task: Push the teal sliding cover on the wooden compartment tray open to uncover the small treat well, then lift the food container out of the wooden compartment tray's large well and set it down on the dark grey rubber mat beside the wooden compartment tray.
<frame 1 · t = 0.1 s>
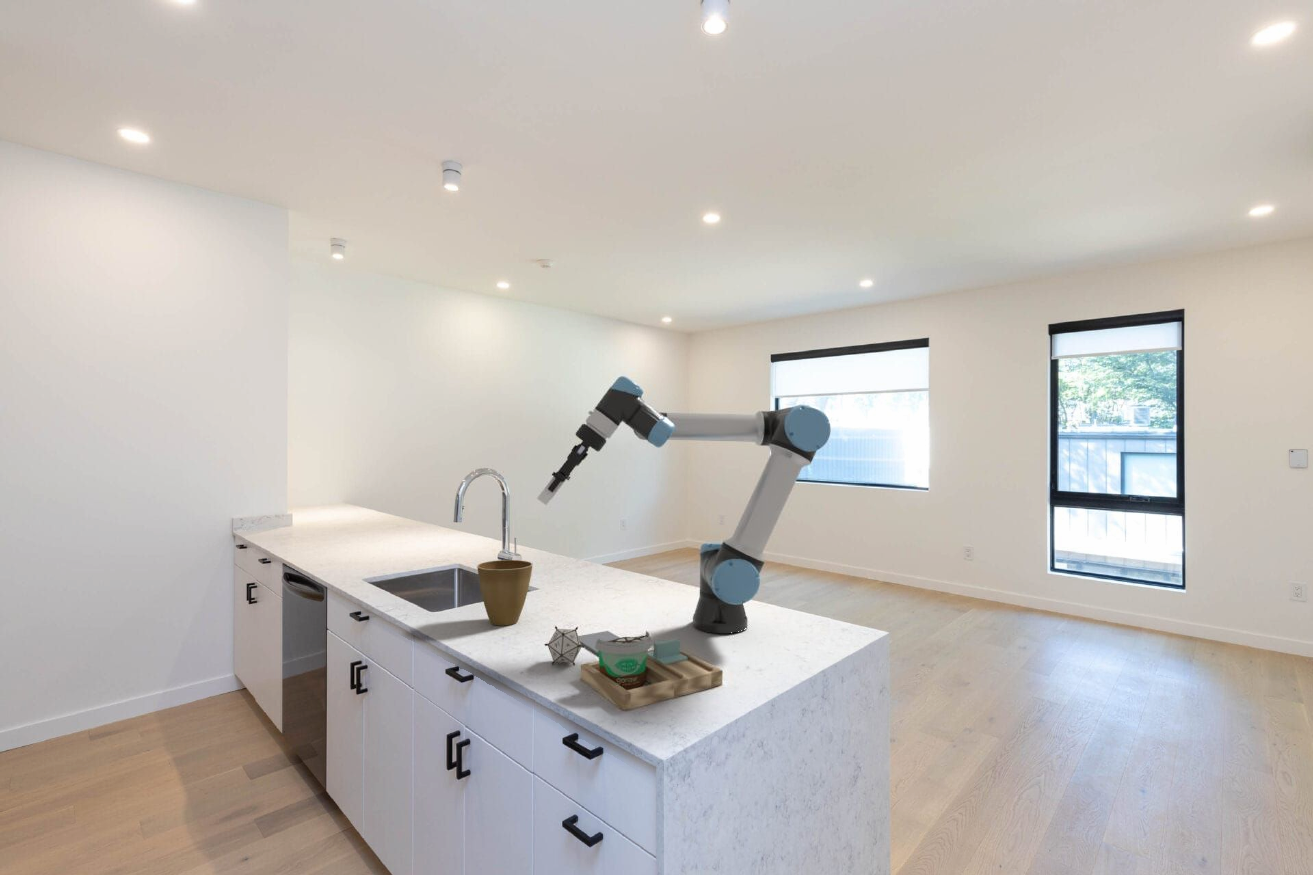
hand: (544, 499, 150), 36 cm above the counter, tool tilted 35°, fingers open, 13 cm apart
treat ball: (666, 671, 133), resting in wooden compartment tray
food container: (627, 688, 124), resting in wooden compartment tray
game die: (564, 664, 137), on the counter
mat: (605, 644, 149), on the counter
wooden compartment tray: (650, 681, 127), on the counter
cover: (666, 649, 133), point 5 cm above the counter, slide at 0.0 cm
plant pot: (503, 622, 167), on the counter
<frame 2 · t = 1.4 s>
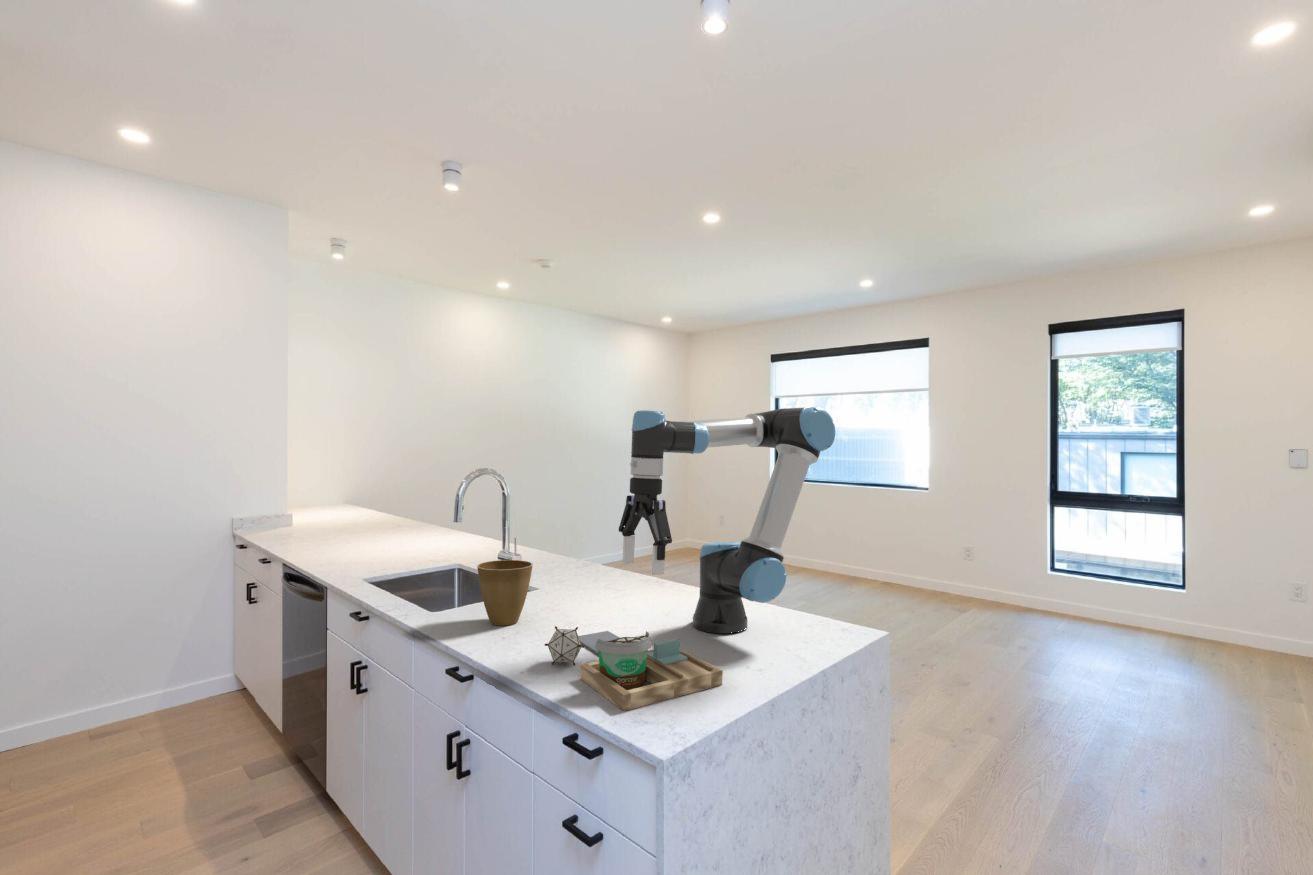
hand: (642, 568, 140), 21 cm above the counter, tool pointing down, fingers open, 13 cm apart
nothing on the counter moved.
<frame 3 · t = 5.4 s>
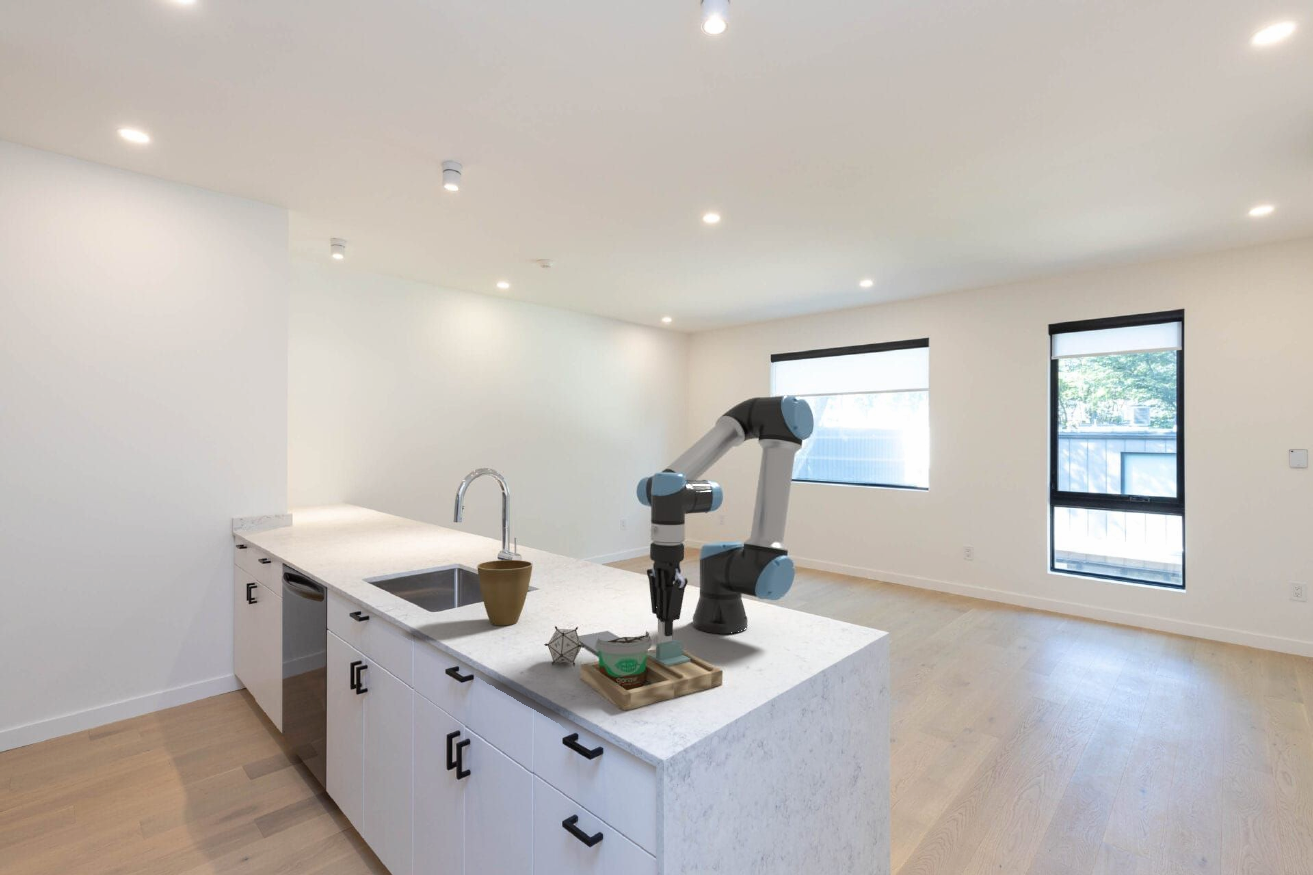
hand: (664, 649, 133), 5 cm above the counter, tool pointing down, fingers closed
cover: (669, 650, 132), point 5 cm above the counter, slide at 1.0 cm, touching gripper
everything else where it was.
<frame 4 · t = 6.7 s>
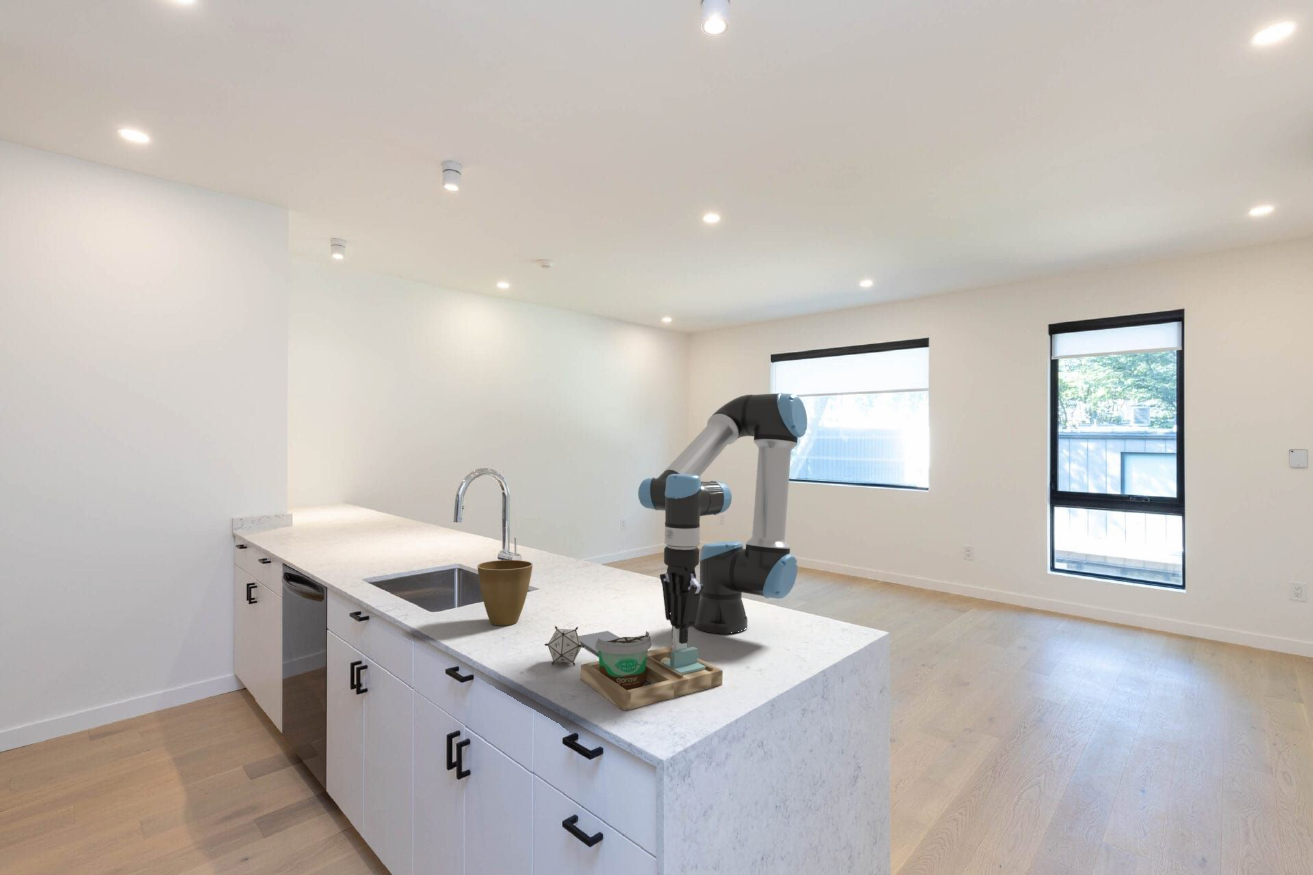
hand: (679, 656, 129), 5 cm above the counter, tool pointing down, fingers closed
cover: (683, 658, 128), point 5 cm above the counter, slide at 6.4 cm, touching gripper
everything else where it was.
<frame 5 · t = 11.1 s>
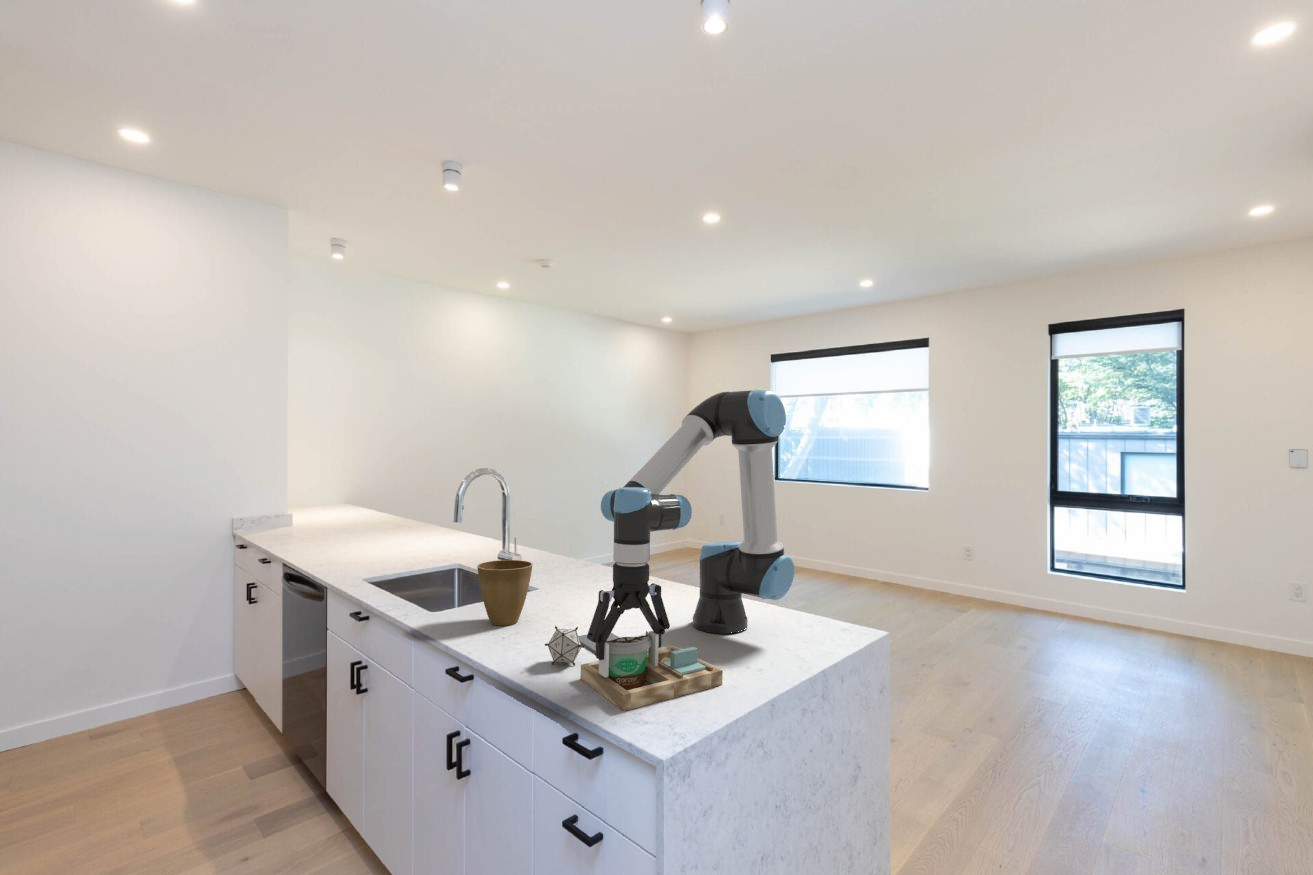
hand: (628, 669, 124), 4 cm above the counter, tool pointing down, fingers closed on food container, 11 cm apart
food container: (627, 688, 124), resting in wooden compartment tray, touching gripper
cover: (684, 658, 128), point 5 cm above the counter, slide at 6.4 cm
everything else where it was.
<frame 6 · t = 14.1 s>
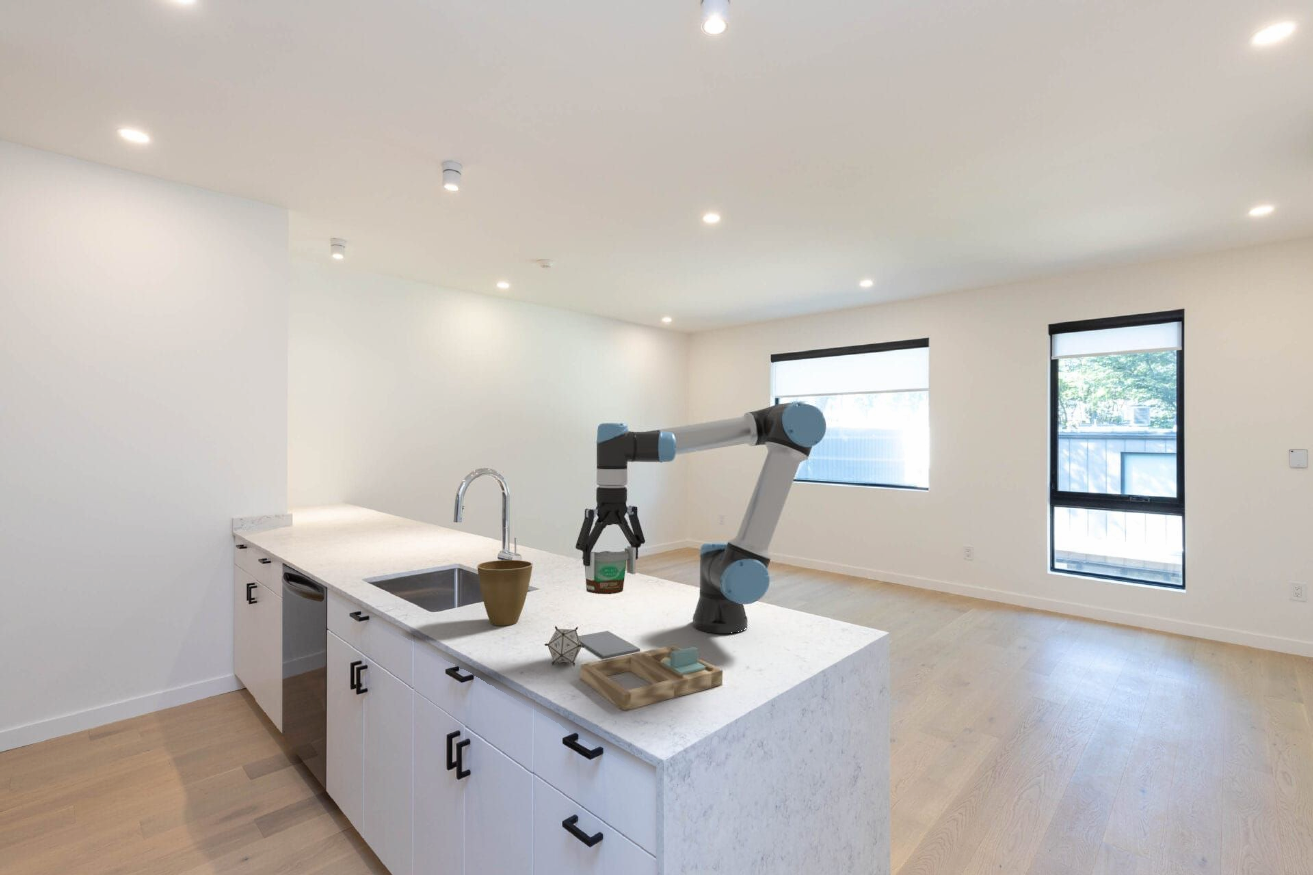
hand: (611, 576, 147), 18 cm above the counter, tool pointing down, fingers closed on food container, 11 cm apart
food container: (609, 592, 146), point 14 cm above the counter, touching gripper
everything else where it was.
when the fingers open (5 cm above the counter, at t = 17.4 s): food container stays where it is, resting on mat.
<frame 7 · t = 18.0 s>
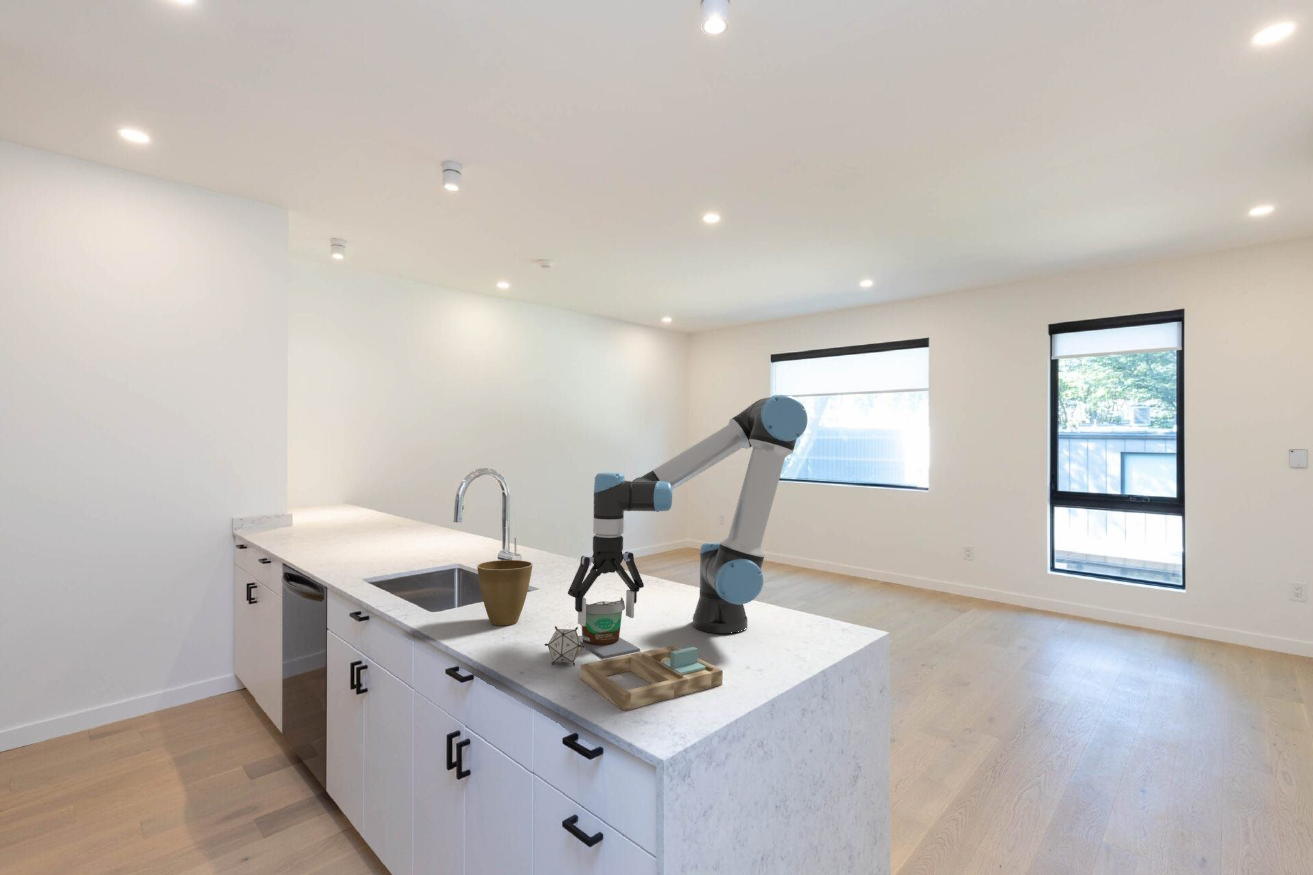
hand: (606, 620, 150), 6 cm above the counter, tool pointing down, fingers open, 13 cm apart
food container: (604, 643, 149), resting on mat
everything else where it was.
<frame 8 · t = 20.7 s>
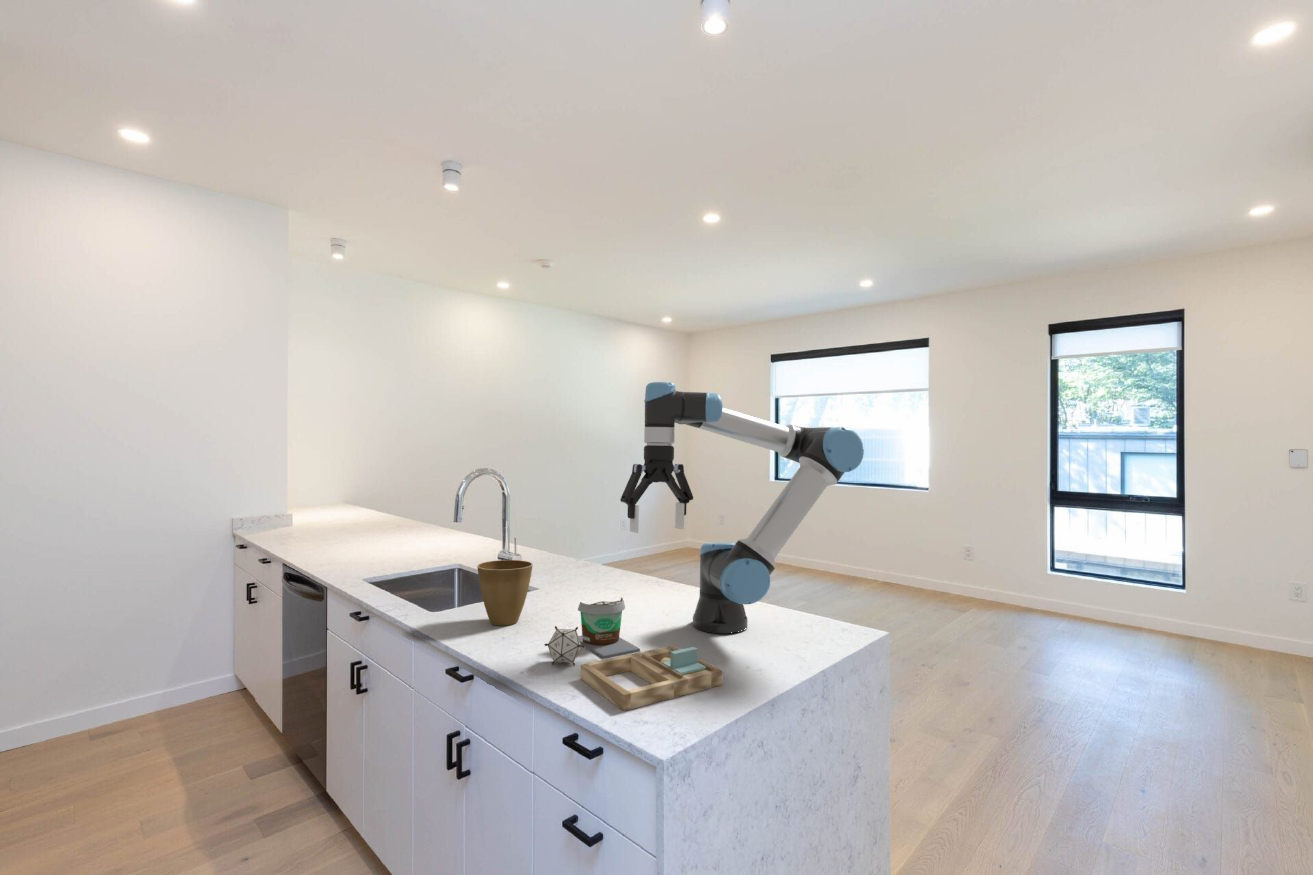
hand: (657, 530, 149), 29 cm above the counter, tool pointing down, fingers open, 13 cm apart
nothing on the counter moved.
at the end: cover slide at 6.4 cm; food container inside the target area on the mat (0.2 cm from its centre), point 0.4 cm above the mat's base; food container tilted 0° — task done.
